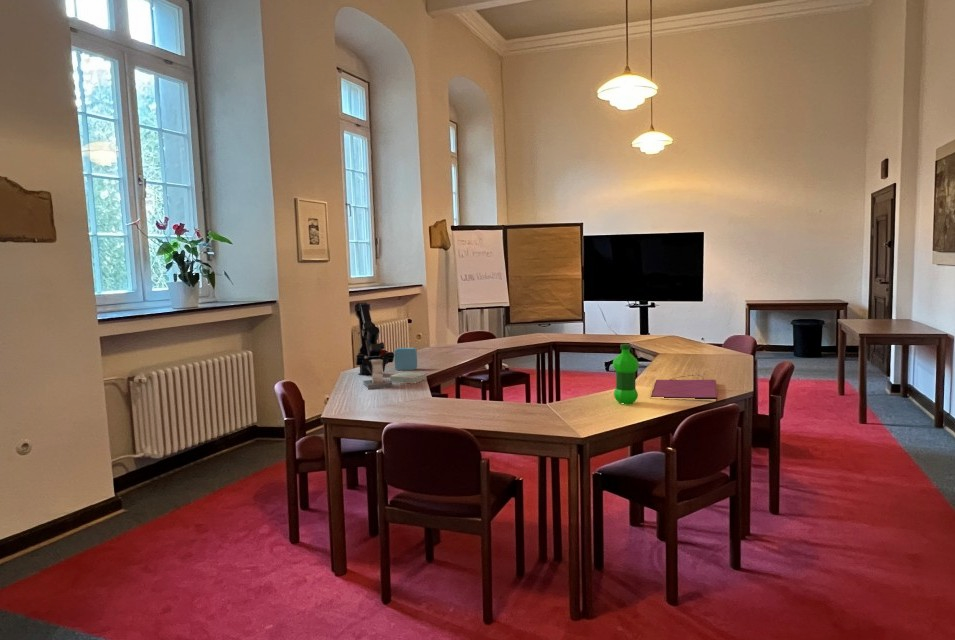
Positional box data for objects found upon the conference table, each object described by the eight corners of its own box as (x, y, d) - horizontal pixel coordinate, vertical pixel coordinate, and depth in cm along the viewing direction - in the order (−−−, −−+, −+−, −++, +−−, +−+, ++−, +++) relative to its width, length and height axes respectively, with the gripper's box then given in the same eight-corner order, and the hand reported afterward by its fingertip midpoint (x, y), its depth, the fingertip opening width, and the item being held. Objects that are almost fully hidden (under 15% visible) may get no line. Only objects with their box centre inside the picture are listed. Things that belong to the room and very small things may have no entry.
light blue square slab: (417, 368, 372) (416, 347, 371) (416, 370, 368) (415, 348, 366) (396, 368, 373) (395, 347, 372) (395, 370, 368) (394, 349, 367)
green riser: (390, 381, 337) (389, 375, 337) (404, 377, 348) (404, 371, 347) (412, 384, 330) (412, 378, 330) (426, 379, 340) (426, 373, 340)
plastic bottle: (614, 400, 285) (614, 342, 282) (639, 401, 281) (639, 343, 279) (611, 405, 276) (611, 346, 273) (637, 406, 272) (637, 346, 269)
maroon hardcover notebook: (717, 393, 277) (650, 392, 286) (717, 403, 277) (650, 401, 286) (716, 374, 314) (657, 373, 323) (716, 383, 315) (657, 381, 324)
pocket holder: (363, 384, 332) (363, 380, 332) (387, 382, 336) (387, 378, 335) (367, 389, 320) (367, 385, 320) (392, 386, 324) (392, 382, 324)
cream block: (372, 385, 329) (371, 359, 328) (381, 384, 331) (380, 358, 329) (374, 387, 325) (372, 361, 324) (383, 386, 327) (382, 360, 325)
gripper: (355, 338, 326) (360, 364, 317) (392, 335, 332) (398, 361, 323) (353, 352, 334) (358, 377, 325) (390, 349, 340) (395, 374, 331)
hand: (377, 372), depth 326 cm, fingers open, 6 cm apart
